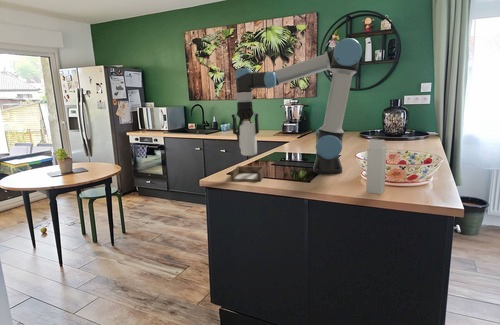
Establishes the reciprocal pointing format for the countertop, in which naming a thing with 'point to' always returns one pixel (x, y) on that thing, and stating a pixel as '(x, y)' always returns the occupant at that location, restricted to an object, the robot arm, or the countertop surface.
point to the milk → (376, 166)
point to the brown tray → (248, 173)
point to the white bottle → (248, 138)
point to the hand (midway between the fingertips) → (246, 147)
